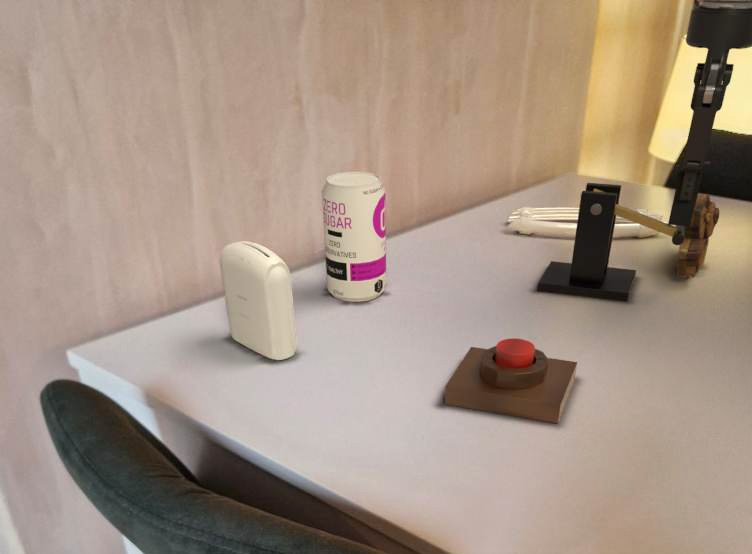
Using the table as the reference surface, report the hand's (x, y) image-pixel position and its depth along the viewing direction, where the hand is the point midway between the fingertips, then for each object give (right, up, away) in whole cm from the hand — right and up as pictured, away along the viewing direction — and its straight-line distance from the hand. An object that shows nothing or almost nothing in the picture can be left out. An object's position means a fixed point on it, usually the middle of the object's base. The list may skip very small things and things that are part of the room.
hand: (679, 223), depth 98 cm
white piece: (-5, +9, +28) cm, 30 cm away
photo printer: (-53, -17, -5) cm, 56 cm away
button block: (-25, -24, -15) cm, 38 cm away
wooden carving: (+7, -2, +13) cm, 15 cm away
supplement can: (-42, -6, +9) cm, 43 cm away
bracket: (-9, -5, +9) cm, 14 cm away
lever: (-5, 0, +2) cm, 6 cm away
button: (-25, -21, -17) cm, 37 cm away
